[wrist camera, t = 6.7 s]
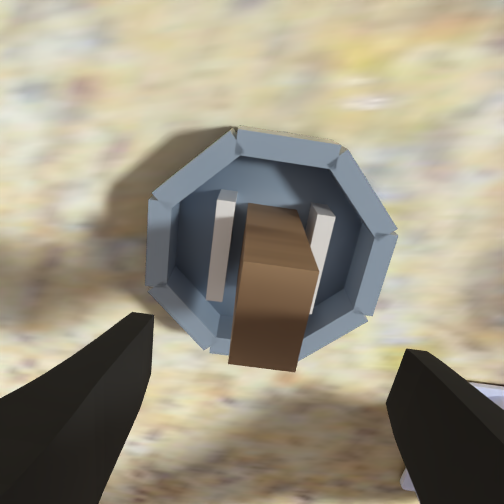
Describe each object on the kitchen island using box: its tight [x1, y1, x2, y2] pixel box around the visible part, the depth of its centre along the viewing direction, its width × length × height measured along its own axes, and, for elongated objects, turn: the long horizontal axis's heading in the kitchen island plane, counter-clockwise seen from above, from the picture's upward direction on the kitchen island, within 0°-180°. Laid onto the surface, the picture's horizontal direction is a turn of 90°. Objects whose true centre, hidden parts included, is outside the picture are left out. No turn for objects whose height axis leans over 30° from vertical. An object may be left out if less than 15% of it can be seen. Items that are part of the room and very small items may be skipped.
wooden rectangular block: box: [228, 203, 319, 372], centre depth 15 cm, size 4×2×7 cm, turn 172°
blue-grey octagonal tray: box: [145, 125, 398, 361], centre depth 18 cm, size 11×11×2 cm
